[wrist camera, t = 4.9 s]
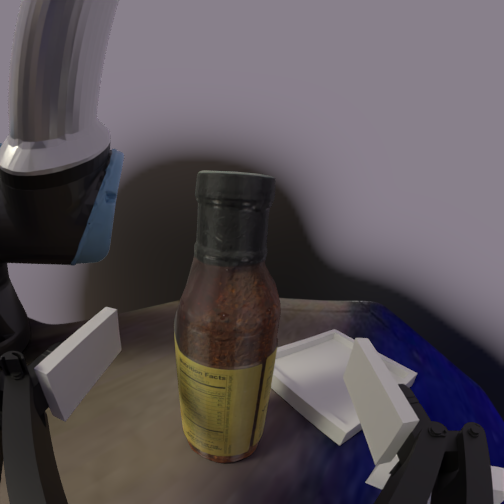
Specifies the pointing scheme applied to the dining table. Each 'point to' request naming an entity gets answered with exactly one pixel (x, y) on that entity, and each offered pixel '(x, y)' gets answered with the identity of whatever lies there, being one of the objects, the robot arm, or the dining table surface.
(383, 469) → the white stepped block
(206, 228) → the sauce bottle
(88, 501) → the dining table surface
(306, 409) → the tray
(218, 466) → the dining table surface
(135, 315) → the dining table surface
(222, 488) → the dining table surface
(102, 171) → the robot arm
